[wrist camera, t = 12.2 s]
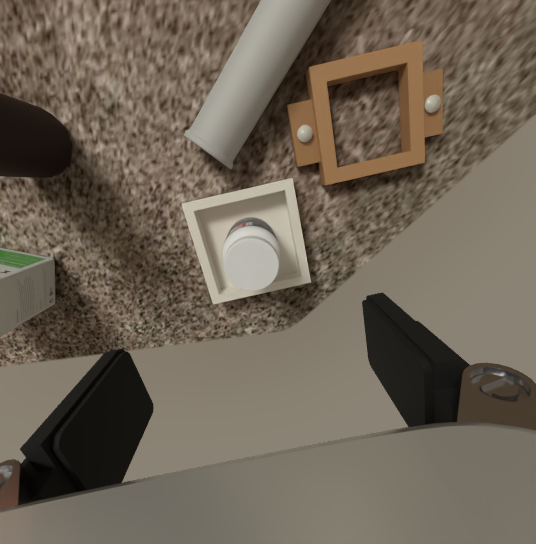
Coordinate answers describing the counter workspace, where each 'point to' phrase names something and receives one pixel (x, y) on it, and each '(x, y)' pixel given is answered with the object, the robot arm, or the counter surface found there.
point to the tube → (253, 75)
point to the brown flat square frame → (412, 100)
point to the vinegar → (31, 141)
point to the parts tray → (233, 207)
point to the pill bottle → (251, 254)
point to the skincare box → (24, 287)
